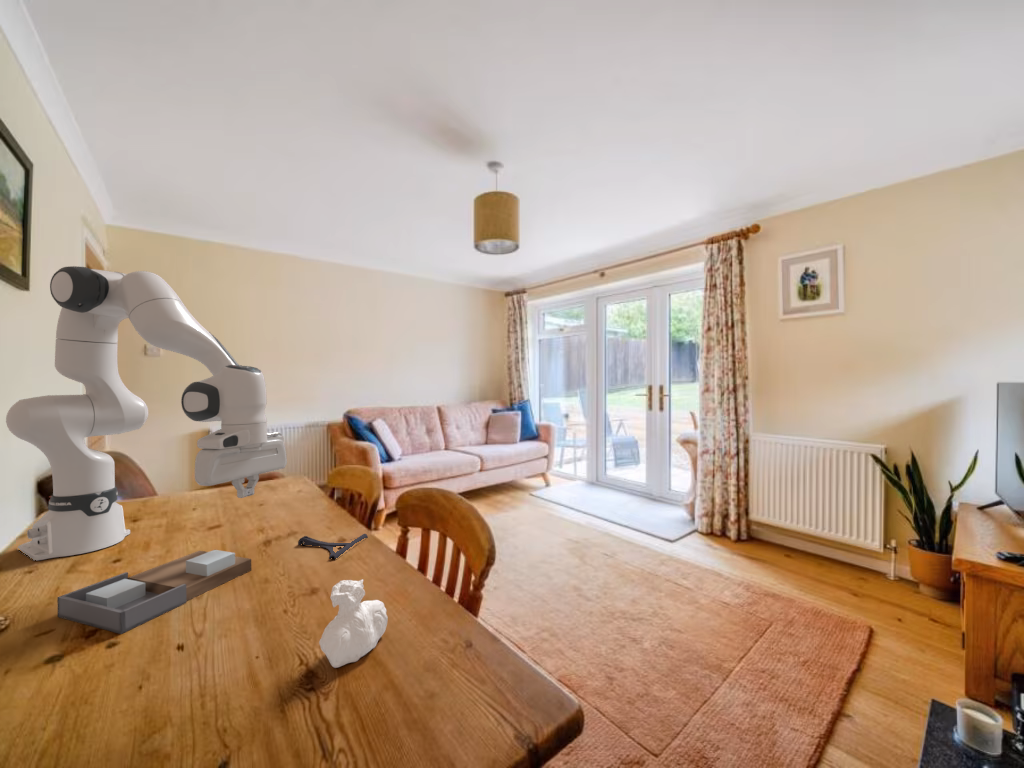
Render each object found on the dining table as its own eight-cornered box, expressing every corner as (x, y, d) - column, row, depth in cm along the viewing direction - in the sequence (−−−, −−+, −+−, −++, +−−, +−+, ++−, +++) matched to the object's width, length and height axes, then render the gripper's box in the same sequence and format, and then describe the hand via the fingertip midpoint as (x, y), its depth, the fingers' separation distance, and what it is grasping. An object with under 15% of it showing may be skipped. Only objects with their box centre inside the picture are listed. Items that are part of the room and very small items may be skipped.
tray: (57, 616, 74) (57, 597, 74) (126, 589, 83) (125, 572, 83) (121, 634, 68) (120, 613, 68) (186, 602, 78) (186, 584, 78)
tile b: (185, 572, 85) (185, 560, 85) (214, 560, 91) (214, 549, 91) (206, 576, 83) (206, 564, 83) (235, 564, 89) (234, 552, 89)
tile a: (85, 606, 76) (85, 593, 76) (125, 590, 82) (124, 578, 82) (107, 611, 74) (106, 598, 74) (145, 595, 80) (145, 582, 80)
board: (128, 589, 83) (128, 577, 83) (199, 561, 96) (199, 550, 96) (184, 602, 78) (184, 589, 78) (251, 570, 92) (251, 558, 92)
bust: (381, 641, 69) (351, 579, 72) (408, 622, 67) (376, 559, 70) (318, 688, 59) (286, 614, 62) (348, 669, 56) (313, 592, 59)
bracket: (317, 536, 113) (317, 526, 113) (367, 539, 111) (367, 529, 111) (279, 559, 99) (279, 547, 99) (335, 563, 96) (335, 551, 96)
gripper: (273, 430, 105) (274, 484, 105) (188, 441, 86) (189, 507, 86) (292, 430, 103) (293, 486, 103) (210, 442, 84) (211, 510, 84)
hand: (245, 496), depth 95 cm, fingers closed
